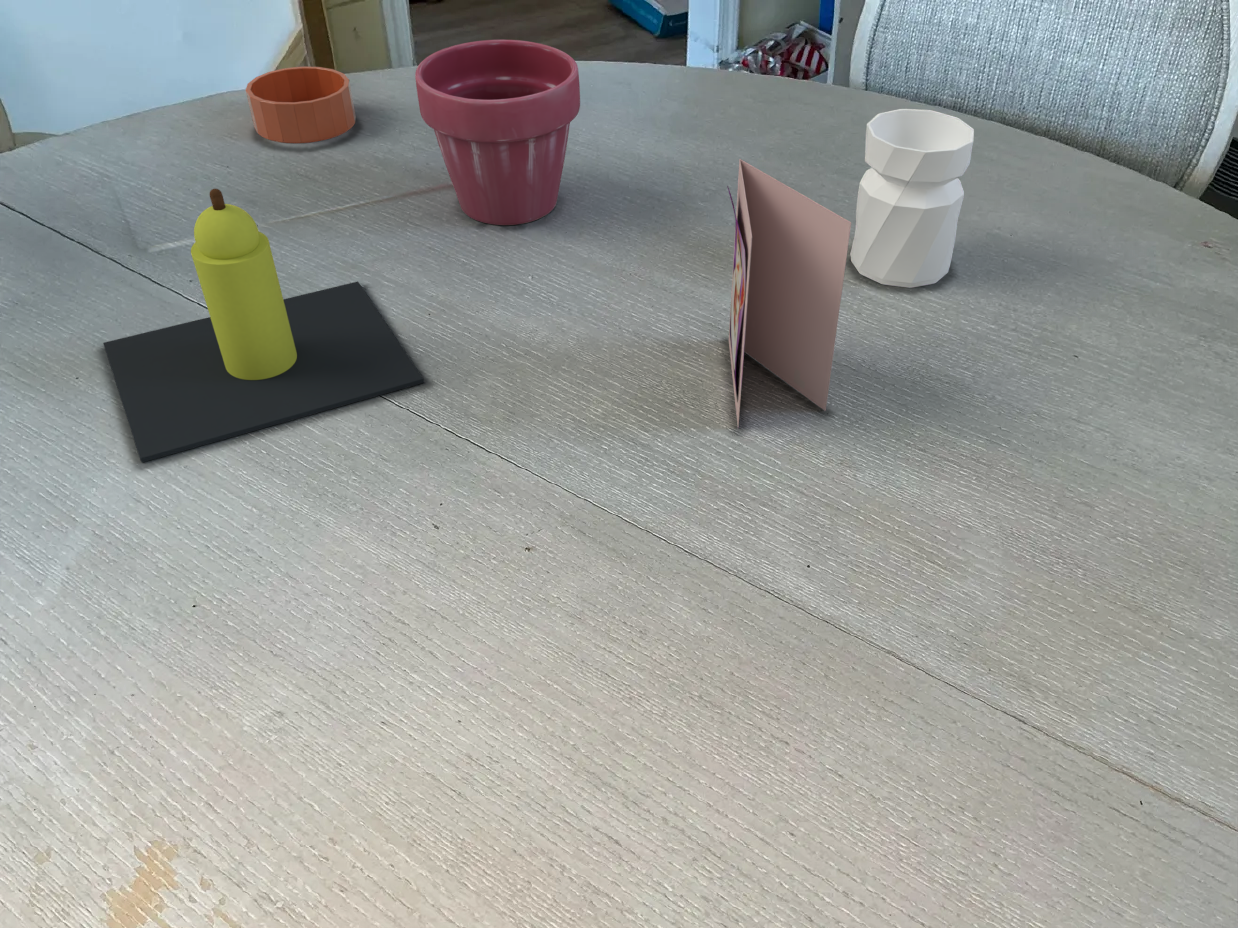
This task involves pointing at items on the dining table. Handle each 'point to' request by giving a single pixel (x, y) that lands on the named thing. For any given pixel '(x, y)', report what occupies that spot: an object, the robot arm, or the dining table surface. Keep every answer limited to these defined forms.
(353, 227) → the dining table surface
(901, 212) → the vase
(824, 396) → the greeting card
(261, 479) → the dining table surface
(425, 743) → the dining table surface
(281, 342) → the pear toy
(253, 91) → the orange round bowl
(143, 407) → the mat
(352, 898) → the dining table surface
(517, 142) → the flower pot
